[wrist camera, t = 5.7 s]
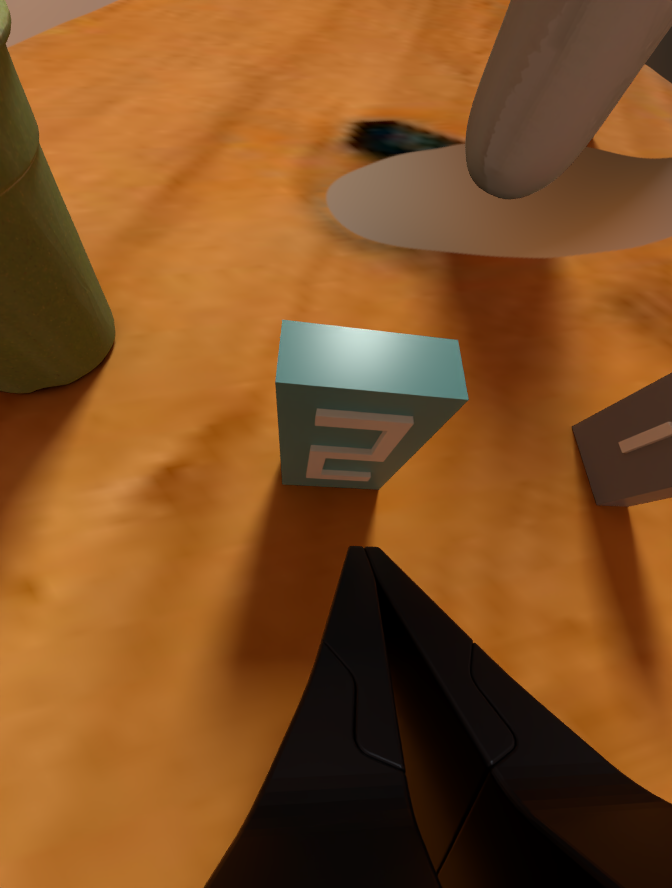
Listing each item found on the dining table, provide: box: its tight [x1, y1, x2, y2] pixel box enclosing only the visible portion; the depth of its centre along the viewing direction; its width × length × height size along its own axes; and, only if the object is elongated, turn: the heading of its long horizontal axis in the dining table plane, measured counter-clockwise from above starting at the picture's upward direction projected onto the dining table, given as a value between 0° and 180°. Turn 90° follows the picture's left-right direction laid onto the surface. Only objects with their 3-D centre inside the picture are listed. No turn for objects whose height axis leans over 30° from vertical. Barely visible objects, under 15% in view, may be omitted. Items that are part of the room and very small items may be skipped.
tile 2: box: [275, 320, 469, 490], centre depth 12 cm, size 2×5×9 cm, turn 89°
